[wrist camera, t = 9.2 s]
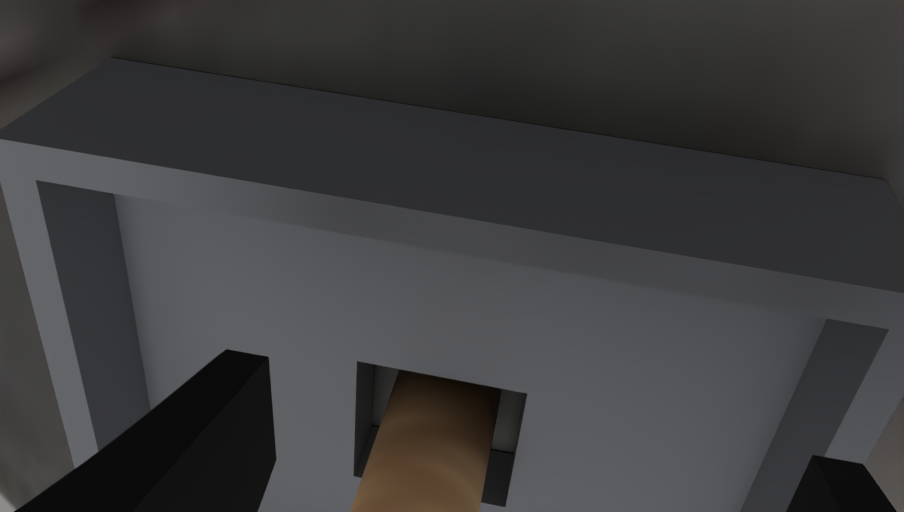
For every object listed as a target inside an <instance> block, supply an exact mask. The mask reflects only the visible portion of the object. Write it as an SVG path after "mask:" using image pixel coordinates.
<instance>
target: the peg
mask: <svg viewBox="0 0 904 512" xmlns="http://www.w3.org/2000/svg"><path fill="white" fill-rule="evenodd" d="M500 396H501V388H495V387H490V386H485V385H480V384H474V383H469V382H464V381H459V380H454V379H448V378H443V377H438V376H433V375H427V374H422V373H417V372H412V371H406V370H401V369H400V370H399V372H398V375H397V378H396V381H395V384H394V387H393V390H392V393H391V395H390V398H389V401H388V404H387V407H386V410H385V413H384V416H383V418H382V421H381V424H380V427H379V430H378V433H377V436H376V439H375V442H374V444H373V447H372V450H371V453H370V456H369V459H368V462H367V465H366V467H365V470H364V473H363V476H362V479H361V482H360V485H359V488H358V490H357V493H356V496H355V499H354V502H353V505H352V508H351V511H350V512H479V509H480V504H481V499H482V493H483V488H484V482H485V477H486V472H487V466H488V461H489V456H490V450H491V445H492V439H493V434H494V429H495V423H496V418H497V412H498V407H499V402H500Z"/></svg>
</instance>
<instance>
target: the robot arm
mask: <svg viewBox="0 0 904 512" xmlns="http://www.w3.org/2000/svg"><path fill="white" fill-rule="evenodd" d="M276 460H277V459H276V446H275V433H274V419H273V406H272V393H271V379H270V366H269V357H267V356H262V355H256V354H251V353H245V352H240V351H234V350H229V349H226V350H225V351H223V352H222V353H220V354H219V355H218V356H216V357H215V358H214V359H213V360H212V361H210V362H209V363H208V364H207V365H205V366H204V367H203V368H202V369H200V370H199V371H198V372H197V373H196V374H194V375H193V376H192V377H191V378H190V379H188V380H187V381H186V382H185V383H184V384H182V385H181V386H180V387H179V388H178V389H176V390H175V391H174V392H173V393H171V394H170V395H169V396H168V397H167V398H165V399H164V400H163V401H162V402H160V403H159V404H158V405H157V406H156V407H154V408H153V409H152V410H151V411H149V412H148V413H147V414H146V415H144V416H143V417H142V418H141V419H139V420H138V421H137V422H136V423H134V424H133V425H132V426H130V427H129V428H128V429H127V430H125V431H124V432H123V433H121V434H120V435H119V436H118V437H116V438H115V439H114V440H112V441H111V442H110V443H109V444H107V445H106V446H105V447H103V448H102V449H101V450H100V451H98V452H97V453H96V454H94V455H93V456H92V457H90V458H89V459H88V460H86V461H85V462H84V463H82V464H81V465H79V466H78V467H77V468H75V469H74V470H72V471H71V472H70V473H68V474H67V475H65V476H64V477H63V478H61V479H60V480H58V481H57V482H56V483H54V484H53V485H51V486H50V487H49V488H47V489H46V490H44V491H43V492H42V493H40V494H39V495H37V496H36V497H35V498H33V499H32V500H30V501H29V502H28V503H26V504H25V505H23V506H22V507H20V508H19V509H17V510H16V511H14V512H258V509H259V507H260V504H261V502H262V499H263V496H264V493H265V491H266V488H267V485H268V482H269V479H270V477H271V474H272V471H273V468H274V465H275V463H276ZM786 512H897V511H896V510H895V509H894V507H893V506H892V504H891V503H890V502H889V500H888V499H887V497H886V496H885V494H884V493H883V492H882V490H881V489H880V487H879V486H878V484H877V483H876V482H875V480H874V479H873V477H872V476H871V475H870V473H869V472H868V470H867V469H866V468H865V466H864V465H863V464H861V463H856V462H850V461H845V460H839V459H834V458H828V457H822V456H817V455H812V457H811V459H810V461H809V463H808V466H807V468H806V470H805V472H804V474H803V476H802V478H801V481H800V483H799V485H798V487H797V489H796V491H795V493H794V495H793V498H792V500H791V502H790V504H789V506H788V508H787V510H786Z"/></svg>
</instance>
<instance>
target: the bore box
mask: <svg viewBox="0 0 904 512" xmlns="http://www.w3.org/2000/svg"><path fill="white" fill-rule="evenodd" d="M0 182H1V186H2V190H3V194H4V197H5V201H6V205H7V209H8V213H9V217H10V221H11V224H12V228H13V232H14V236H15V240H16V244H17V248H18V251H19V255H20V259H21V263H22V267H23V271H24V274H25V278H26V282H27V286H28V290H29V294H30V298H31V301H32V305H33V309H34V313H35V317H36V321H37V324H38V328H39V332H40V336H41V340H42V344H43V348H44V351H45V355H46V359H47V363H48V367H49V371H50V374H51V378H52V382H53V386H54V390H55V394H56V398H57V401H58V405H59V409H60V413H61V417H62V421H63V424H64V428H65V432H66V436H67V440H68V444H69V448H70V451H71V455H72V459H73V463H74V467H75V468H77V467H78V466H79V465H81V464H82V463H84V462H85V461H86V460H88V459H89V458H90V457H92V456H93V455H94V454H96V453H97V452H98V451H100V450H101V449H102V448H103V447H105V446H106V445H107V444H109V443H110V442H111V441H112V440H114V439H115V438H116V437H118V436H119V435H120V434H121V433H123V432H124V431H125V430H127V429H128V428H129V427H130V426H132V425H133V424H134V423H136V422H137V421H138V420H139V419H141V418H142V417H143V416H144V415H146V414H147V413H148V412H149V411H151V410H152V409H153V408H154V407H156V406H157V405H158V404H159V403H160V402H162V401H163V400H164V399H165V398H167V397H168V396H169V395H170V394H171V393H173V392H174V391H175V390H176V389H178V388H179V387H180V386H181V385H182V384H184V383H185V382H186V381H187V380H188V379H190V378H191V377H192V376H193V375H194V374H196V373H197V372H198V371H199V370H200V369H202V368H203V367H204V366H205V365H207V364H208V363H209V362H210V361H212V360H213V359H214V358H215V357H216V356H218V355H219V354H220V353H222V352H223V351H225V350H226V349H229V350H234V351H240V352H245V353H251V354H256V355H262V356H267V357H269V366H270V379H271V393H272V406H273V419H274V433H275V446H276V459H277V460H276V463H275V465H274V468H273V471H272V474H271V477H270V479H269V482H268V485H267V488H266V491H265V493H264V496H263V499H262V502H261V504H260V507H259V509H258V512H350V511H351V508H352V505H353V502H354V499H355V496H356V493H357V490H358V488H359V485H360V482H361V479H362V476H363V473H364V470H365V467H366V465H367V462H368V459H369V456H370V453H371V450H372V447H373V444H374V442H375V439H376V436H377V433H378V430H379V427H374V426H372V405H373V384H374V364H375V365H380V366H385V367H391V368H396V369H401V370H406V371H412V372H417V373H422V374H427V375H433V376H438V377H443V378H448V379H454V380H459V381H464V382H469V383H474V384H480V385H485V386H490V387H495V388H501V389H506V390H511V391H516V392H522V393H525V397H524V402H523V408H522V413H521V418H520V423H519V428H518V433H517V439H516V444H515V449H514V454H510V453H505V452H500V451H495V450H490V456H489V461H488V466H487V472H486V477H485V482H484V488H483V493H482V499H481V504H480V509H479V512H786V510H787V508H788V506H789V504H790V502H791V500H792V498H793V495H794V493H795V491H796V489H797V487H798V485H799V483H800V481H801V478H802V476H803V474H804V472H805V470H806V468H807V466H808V463H809V461H810V459H811V457H812V455H817V456H822V457H828V458H834V459H839V460H845V461H850V462H856V463H861V464H863V465H865V463H866V462H867V460H868V458H869V456H870V454H871V453H872V451H873V449H874V447H875V445H876V444H877V442H878V440H879V438H880V436H881V435H882V433H883V431H884V429H885V428H886V426H887V424H888V422H889V420H890V419H891V417H892V415H893V413H894V411H895V410H896V408H897V406H898V404H899V402H900V401H901V399H902V397H903V395H904V210H903V209H902V207H901V205H900V203H899V202H898V200H897V198H896V196H895V195H894V193H893V191H892V189H891V188H890V186H889V184H888V182H887V181H886V180H883V179H876V178H870V177H864V176H857V175H851V174H845V173H838V172H832V171H826V170H819V169H813V168H807V167H800V166H794V165H788V164H781V163H775V162H769V161H762V160H756V159H750V158H743V157H737V156H731V155H724V154H718V153H712V152H705V151H699V150H693V149H686V148H680V147H674V146H667V145H661V144H655V143H648V142H642V141H636V140H629V139H623V138H617V137H610V136H604V135H598V134H591V133H585V132H579V131H572V130H566V129H559V128H553V127H547V126H540V125H534V124H528V123H521V122H515V121H509V120H502V119H496V118H490V117H483V116H477V115H471V114H464V113H458V112H452V111H445V110H439V109H433V108H426V107H420V106H414V105H407V104H401V103H395V102H388V101H382V100H376V99H369V98H363V97H357V96H350V95H344V94H338V93H331V92H325V91H319V90H312V89H306V88H300V87H293V86H287V85H281V84H274V83H268V82H262V81H255V80H249V79H243V78H236V77H230V76H224V75H217V74H211V73H205V72H198V71H192V70H186V69H179V68H173V67H167V66H160V65H154V64H148V63H141V62H135V61H129V60H122V59H116V58H109V59H108V60H106V61H105V62H103V63H101V64H100V65H98V66H97V67H95V68H94V69H92V70H91V71H89V72H88V73H86V74H85V75H83V76H82V77H80V78H79V79H77V80H75V81H74V82H72V83H71V84H69V85H68V86H66V87H65V88H63V89H62V90H60V91H59V92H57V93H56V94H54V95H52V96H51V97H49V98H48V99H46V100H45V101H43V102H42V103H40V104H39V105H37V106H36V107H34V108H33V109H31V110H29V111H28V112H26V113H25V114H23V115H22V116H20V117H19V118H17V119H16V120H14V121H13V122H11V123H10V124H8V125H7V126H5V127H3V128H2V129H0Z"/></svg>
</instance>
